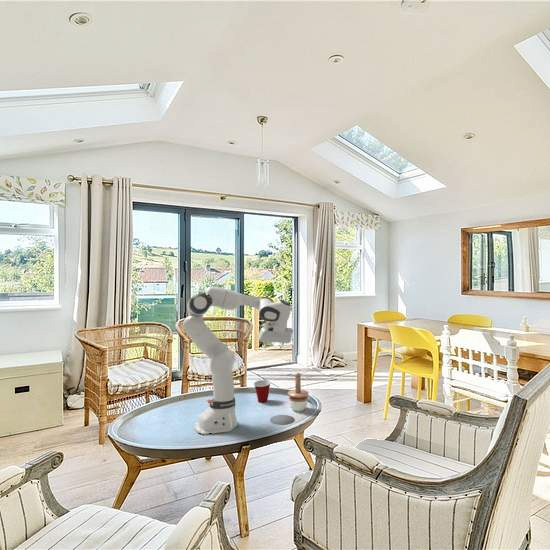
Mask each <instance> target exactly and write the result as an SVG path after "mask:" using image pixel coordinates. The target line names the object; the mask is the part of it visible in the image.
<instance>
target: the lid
mask: <svg viewBox="0 0 550 550" xmlns="http://www.w3.org/2000/svg"><path fill="white" fill-rule="evenodd" d="M301 376H302V375H301V373H300V372H296V373H295V374H294V378H295V380H294V382H295V384H294V385H295V389H291V390H289V391H288V392H287V395H288V397H289V396H291V397H297V398H300V397H306V396H307V397H308V396H309V391H307V390H304V389H302V387H301V380H302V379H301Z"/></svg>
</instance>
